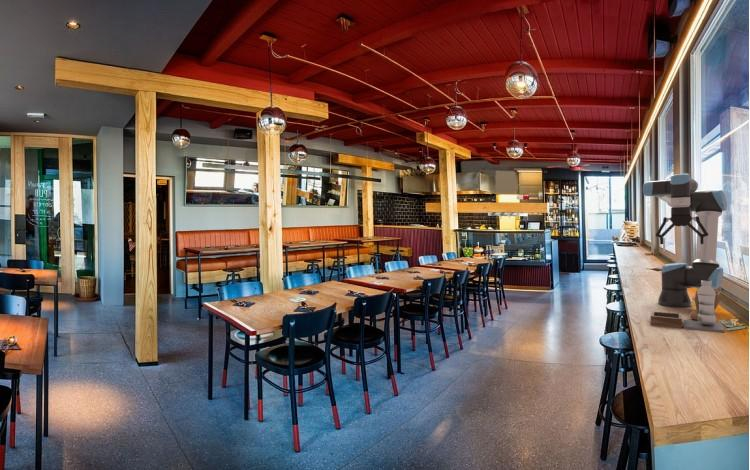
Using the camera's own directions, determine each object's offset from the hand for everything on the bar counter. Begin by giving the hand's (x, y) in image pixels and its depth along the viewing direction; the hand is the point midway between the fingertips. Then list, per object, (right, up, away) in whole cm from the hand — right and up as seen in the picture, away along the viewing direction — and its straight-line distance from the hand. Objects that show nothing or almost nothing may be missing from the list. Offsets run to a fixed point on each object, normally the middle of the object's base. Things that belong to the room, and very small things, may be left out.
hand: (681, 251), depth 200 cm
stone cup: (+12, -33, +1) cm, 35 cm away
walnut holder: (-10, -34, -4) cm, 35 cm away
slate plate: (+1, -34, -11) cm, 36 cm away
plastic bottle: (+2, -33, -12) cm, 35 cm away
